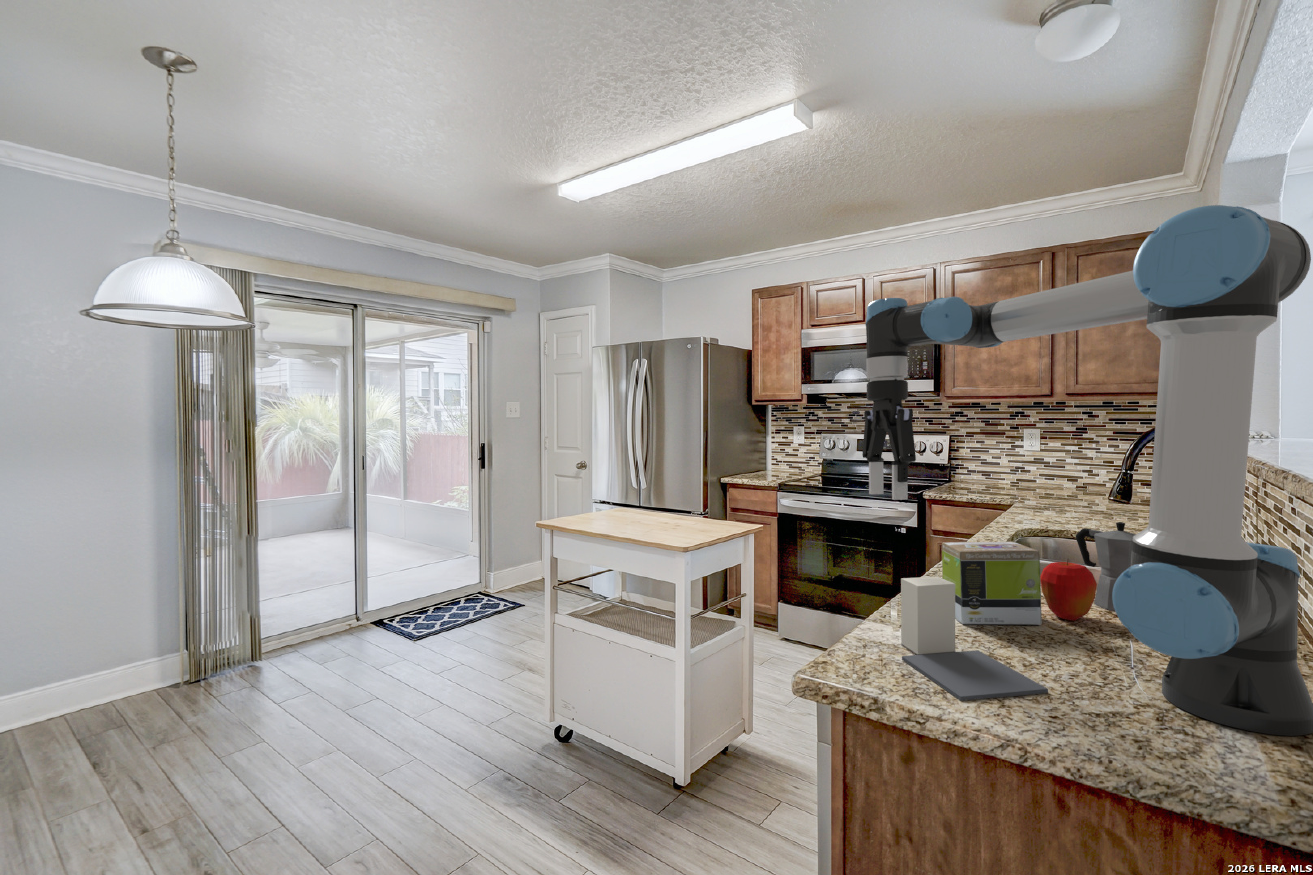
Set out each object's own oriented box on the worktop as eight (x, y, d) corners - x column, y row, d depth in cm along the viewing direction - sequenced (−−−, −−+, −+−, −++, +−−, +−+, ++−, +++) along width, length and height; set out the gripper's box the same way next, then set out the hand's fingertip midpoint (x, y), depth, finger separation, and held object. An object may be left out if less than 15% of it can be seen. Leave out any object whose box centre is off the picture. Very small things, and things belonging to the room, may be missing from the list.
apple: (1101, 617, 119) (1101, 558, 119) (1090, 628, 113) (1090, 565, 112) (1047, 607, 126) (1047, 551, 125) (1034, 617, 120) (1034, 558, 119)
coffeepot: (1169, 612, 122) (1170, 525, 121) (1144, 619, 118) (1144, 528, 117) (1088, 593, 136) (1089, 514, 135) (1063, 599, 132) (1063, 518, 131)
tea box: (1016, 610, 124) (1016, 540, 124) (1042, 627, 114) (1042, 550, 114) (941, 609, 126) (941, 539, 125) (960, 625, 116) (960, 550, 115)
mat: (1048, 692, 87) (1048, 688, 87) (960, 700, 85) (960, 696, 85) (977, 653, 101) (977, 650, 101) (901, 659, 99) (901, 656, 99)
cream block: (955, 653, 102) (955, 583, 102) (917, 656, 101) (917, 586, 101) (937, 642, 107) (937, 576, 107) (901, 645, 106) (901, 578, 106)
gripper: (937, 375, 106) (937, 502, 106) (877, 383, 126) (878, 490, 127) (898, 375, 105) (899, 504, 105) (844, 383, 125) (845, 491, 126)
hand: (887, 496), depth 116 cm, fingers open, 8 cm apart
